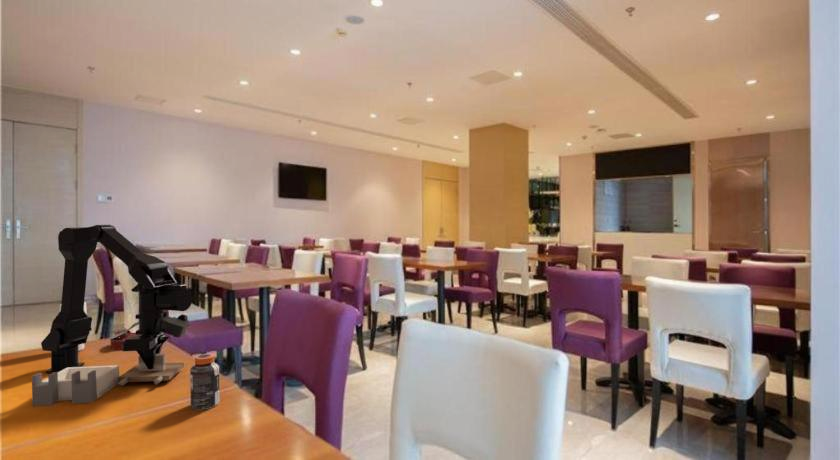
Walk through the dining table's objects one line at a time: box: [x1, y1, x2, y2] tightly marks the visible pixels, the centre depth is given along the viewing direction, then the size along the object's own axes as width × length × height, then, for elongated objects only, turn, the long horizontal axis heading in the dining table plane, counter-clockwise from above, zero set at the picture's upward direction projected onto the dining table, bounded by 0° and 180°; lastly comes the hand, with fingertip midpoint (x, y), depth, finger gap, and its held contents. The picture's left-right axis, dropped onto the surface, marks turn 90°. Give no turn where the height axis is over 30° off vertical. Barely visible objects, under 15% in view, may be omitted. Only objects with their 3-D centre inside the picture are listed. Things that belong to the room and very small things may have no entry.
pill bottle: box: [189, 353, 220, 411], centre depth 100 cm, size 6×6×11 cm
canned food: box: [110, 320, 140, 351], centre depth 145 cm, size 11×10×10 cm
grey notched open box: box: [31, 364, 120, 407], centre depth 105 cm, size 12×12×7 cm
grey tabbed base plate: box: [117, 353, 185, 387], centre depth 114 cm, size 12×12×5 cm
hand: (152, 367), depth 115 cm, fingers closed on grey tabbed base plate
